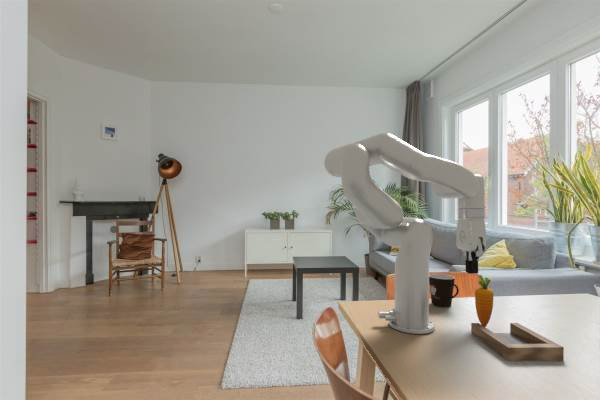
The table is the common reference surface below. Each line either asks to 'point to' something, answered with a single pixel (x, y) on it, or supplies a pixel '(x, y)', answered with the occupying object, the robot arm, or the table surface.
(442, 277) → the coffee mug
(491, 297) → the carrot
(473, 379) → the table surface
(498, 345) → the rest
